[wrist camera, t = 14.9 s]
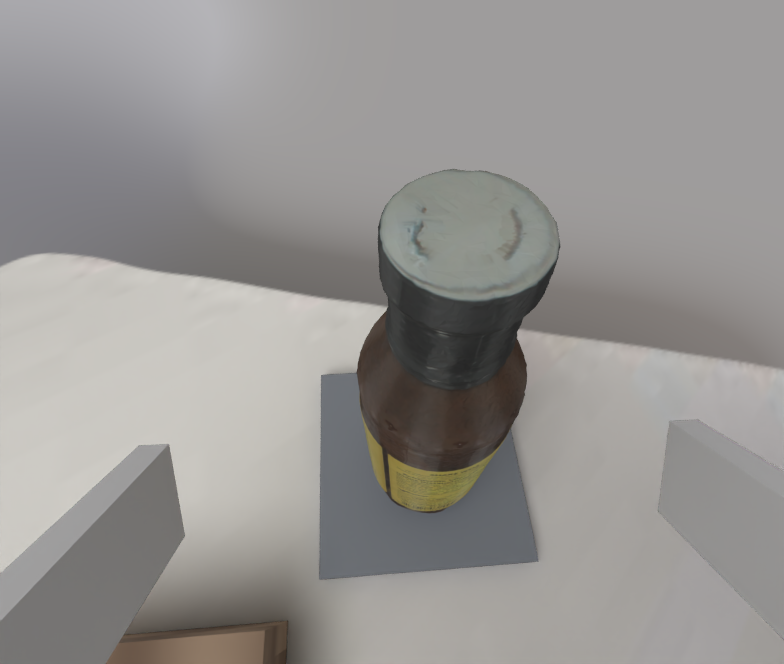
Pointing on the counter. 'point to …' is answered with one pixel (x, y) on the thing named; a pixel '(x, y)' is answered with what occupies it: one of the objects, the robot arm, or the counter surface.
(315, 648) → the counter surface
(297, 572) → the counter surface
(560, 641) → the counter surface
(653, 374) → the counter surface
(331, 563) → the rubber mat
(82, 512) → the robot arm
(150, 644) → the walnut sleeve
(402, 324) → the sauce bottle
